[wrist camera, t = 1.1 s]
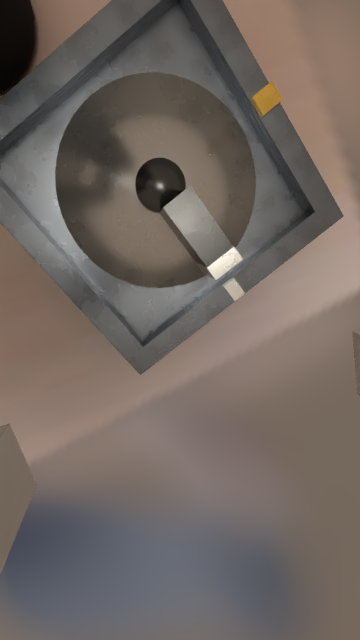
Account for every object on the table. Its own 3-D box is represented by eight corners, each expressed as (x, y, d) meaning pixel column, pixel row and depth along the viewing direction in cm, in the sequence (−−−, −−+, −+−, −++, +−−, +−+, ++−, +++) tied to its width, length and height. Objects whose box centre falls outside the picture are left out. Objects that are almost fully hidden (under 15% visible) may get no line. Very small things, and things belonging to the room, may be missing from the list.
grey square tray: (-35, 165, 28) (-68, 151, 24) (179, -22, 27) (186, -73, 22) (140, 359, 35) (140, 377, 30) (320, 218, 33) (347, 215, 29)
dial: (15, 169, 27) (-23, 148, 20) (174, 31, 25) (185, -34, 19) (145, 320, 31) (146, 341, 25) (284, 210, 30) (322, 203, 24)
